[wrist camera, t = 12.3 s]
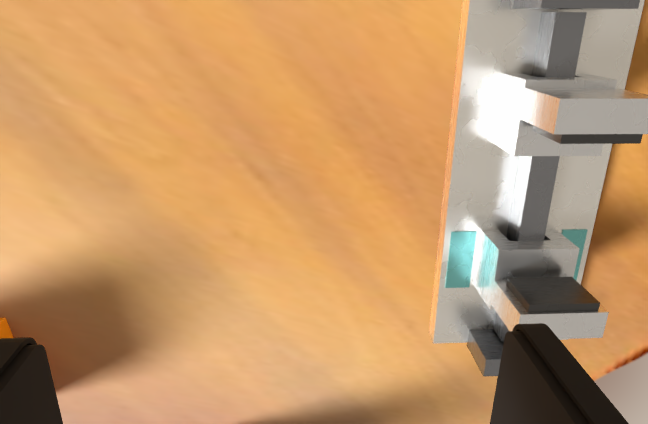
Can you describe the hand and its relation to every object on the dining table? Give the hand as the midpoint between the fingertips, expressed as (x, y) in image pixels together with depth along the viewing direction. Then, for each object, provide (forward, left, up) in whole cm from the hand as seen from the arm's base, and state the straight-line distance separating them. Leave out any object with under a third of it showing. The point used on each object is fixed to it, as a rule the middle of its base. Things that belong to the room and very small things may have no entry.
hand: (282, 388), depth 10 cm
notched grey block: (+11, +18, -27) cm, 34 cm away
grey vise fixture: (+5, +18, -28) cm, 34 cm away
